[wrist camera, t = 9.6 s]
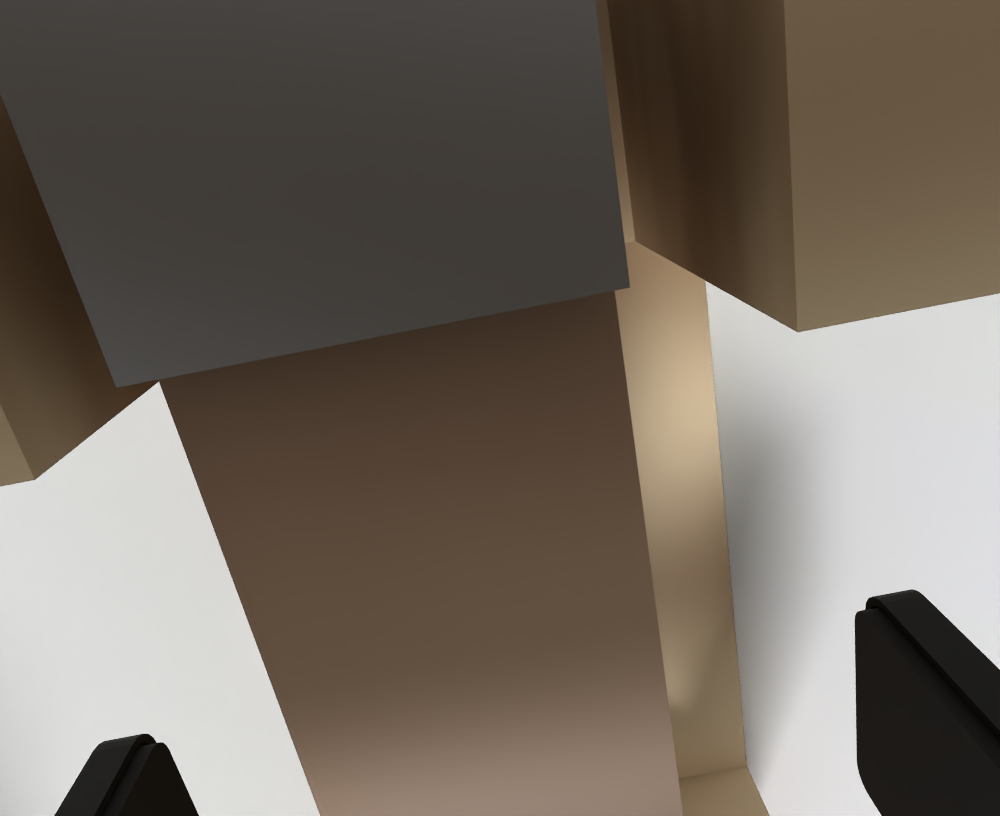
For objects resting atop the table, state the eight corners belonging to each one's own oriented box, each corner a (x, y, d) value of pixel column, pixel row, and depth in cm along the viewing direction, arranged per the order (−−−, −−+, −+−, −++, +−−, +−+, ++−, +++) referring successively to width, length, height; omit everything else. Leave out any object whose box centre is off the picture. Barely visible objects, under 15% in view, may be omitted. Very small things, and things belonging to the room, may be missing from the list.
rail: (201, -31, 8) (-142, -262, 4) (495, -92, 8) (544, -405, 4) (508, 1033, 15) (530, 1436, 11) (669, 1003, 15) (765, 1395, 11)
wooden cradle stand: (95, -26, 11) (-699, -391, 3) (649, -139, 11) (1079, -777, 3) (418, 940, 19) (390, 1479, 11) (744, 880, 18) (940, 1386, 11)
